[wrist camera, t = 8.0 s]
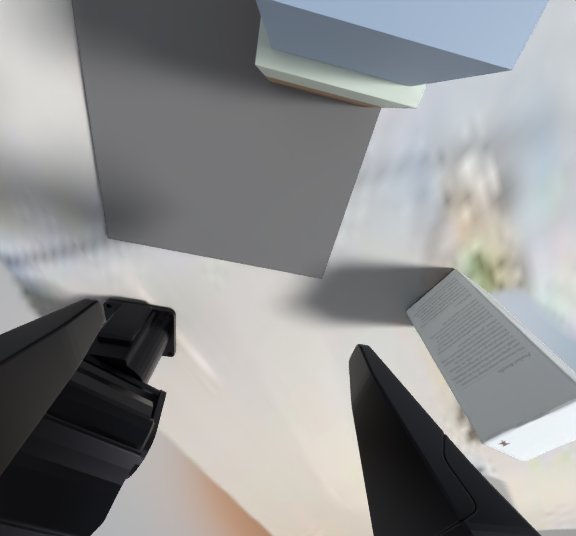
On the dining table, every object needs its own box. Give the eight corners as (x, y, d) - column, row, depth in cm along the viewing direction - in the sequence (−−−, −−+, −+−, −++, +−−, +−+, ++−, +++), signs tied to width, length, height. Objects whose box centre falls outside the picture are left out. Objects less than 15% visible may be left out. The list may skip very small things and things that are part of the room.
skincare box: (433, 328, 27) (521, 464, 17) (404, 310, 26) (478, 445, 15) (486, 287, 24) (630, 421, 14) (455, 265, 23) (588, 393, 13)
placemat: (321, 276, 24) (322, 278, 23) (111, 236, 22) (108, 238, 21) (478, -181, 11) (484, -190, 11) (23, -365, 9) (13, -383, 9)
